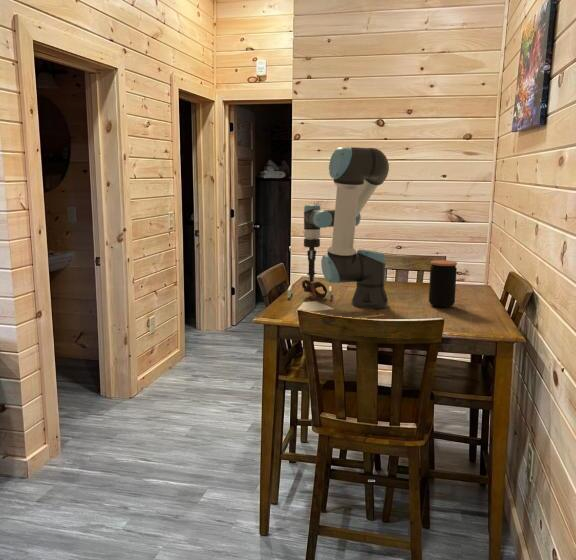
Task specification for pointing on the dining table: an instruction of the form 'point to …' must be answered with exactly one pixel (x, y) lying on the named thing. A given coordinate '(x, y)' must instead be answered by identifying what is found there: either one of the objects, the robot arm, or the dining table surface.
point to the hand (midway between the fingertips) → (311, 288)
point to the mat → (314, 306)
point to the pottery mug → (314, 289)
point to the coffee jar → (442, 283)
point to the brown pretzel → (291, 292)
